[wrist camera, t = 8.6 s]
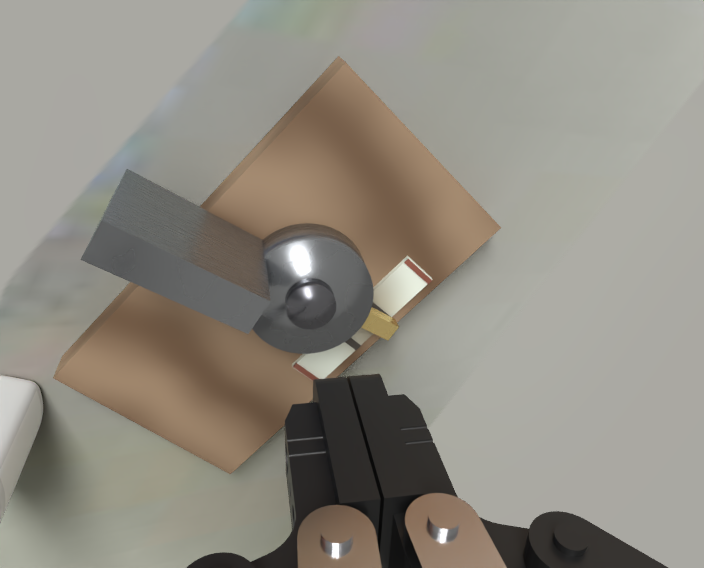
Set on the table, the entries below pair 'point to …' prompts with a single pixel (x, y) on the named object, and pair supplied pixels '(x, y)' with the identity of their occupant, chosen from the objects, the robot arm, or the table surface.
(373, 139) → the stand
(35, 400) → the eye dropper bottle
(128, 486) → the table surface
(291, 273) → the lever
